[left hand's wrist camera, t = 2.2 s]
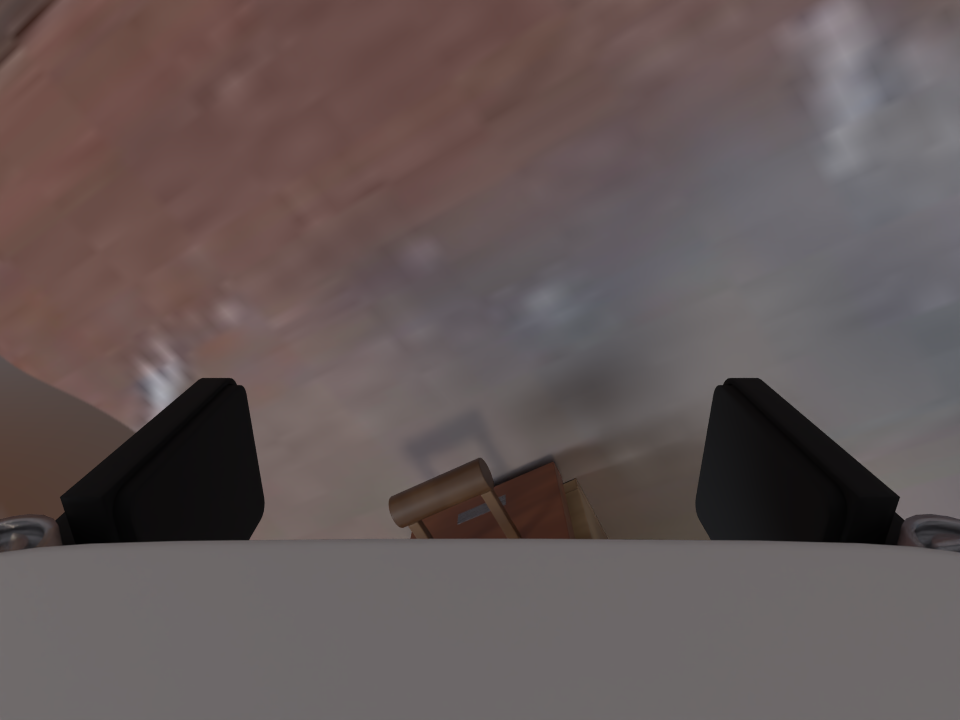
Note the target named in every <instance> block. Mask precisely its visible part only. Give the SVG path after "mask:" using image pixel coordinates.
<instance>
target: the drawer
mask: <svg viewBox="0 0 960 720" xmlns="http://www.w3.org/2000/svg"><path fill="white" fill-rule="evenodd" d="M389 510H390V513H391V516H392V518H393V520H394V522H395V523H396V524H397V525H398V526H399V527H401V528H404V527H406V526H408V525H409V528H410V529H411V531H412V534H411V539H575V535H574V531H573V526H572V522H571V517H570V513H569V509H568V504H567V500H566V495H565V491H564V486H563V482H562V478H561V474H560V473H559V471H558V469H557V467H556V465H555V463H554V462H551V463H548V464H546V465H544V466H542V467H539V468H537V469H535V470H532V471H530V472H528V473H525V474H523V475H521V476H518V477H516V478H514V479H511V480H509V481H507V482H504V483H502V484H500V485H497V486H495V487H494V482H493V478H492V475H491V472H490V470H489V468H488V466H487V464H486V463H485V461H484V460H483V459H482V458H478V459H475V460H473V461H471V462H468V463H466V464H464V465H462V466H459V467H457V468H455V469H453V470H450V471H448V472H446V473H444V474H441V475H439V476H437V477H435V478H432V479H430V480H428V481H426V482H423V483H421V484H419V485H416V486H414V487H412V488H410V489H407V490H405V491H403V492H401V493H398V494H396V495H394V496H392V497H391V498H390V499H389Z"/></svg>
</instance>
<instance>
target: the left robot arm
mask: <svg viewBox="0 0 960 720" xmlns="http://www.w3.org/2000/svg"><path fill="white" fill-rule="evenodd" d="M60 498H61V501H62V504H63V507H64V511H65V512H64V513H63V514H62V515H61V516H60V517H59V518H58V519H57V520H54V519H53V518H51V517H48V516H45V515H37V514H27V515H19V516H12V517H8V518H4V519H0V720H960V519H956V518H952V517H948V516H941V515H933V514H923V515H915V516H912V517H909V518H907V519H906V520H903V519H902V518H901V517H900V516H899V515H898V514H897V513H896V512H895V511H896V507H897V504H898V501H899V498H900V497H899V496H898V495H897V494H896V493H894V492H893V491H892V490H891V489H890V488H889V487H887V486H886V485H885V484H884V483H883V482H881V481H880V480H879V479H878V478H877V477H876V476H874V475H873V474H872V473H871V472H870V471H868V470H867V469H866V468H865V467H864V466H863V465H861V464H860V463H859V462H858V461H857V460H855V459H854V458H853V457H852V456H851V455H850V454H848V453H847V452H846V451H845V450H844V449H842V448H841V447H840V446H839V445H838V444H837V443H835V442H834V441H833V440H832V439H831V438H829V437H828V436H827V435H826V434H825V433H824V432H822V431H821V430H820V429H819V428H818V427H816V426H815V425H814V424H813V423H812V422H811V421H809V420H808V419H807V418H806V417H805V416H803V415H802V414H801V413H800V412H799V411H798V410H796V409H795V408H794V407H793V406H792V405H790V404H789V403H788V402H787V401H786V400H785V399H783V398H782V397H781V396H780V395H779V394H777V393H776V392H775V391H774V390H773V389H771V388H770V387H769V386H768V385H767V384H766V383H764V382H763V381H762V380H761V379H759V378H728V379H727V380H726V381H725V382H724V384H723V385H718V386H717V387H716V389H715V391H714V394H713V400H712V406H711V412H710V418H709V424H708V430H707V436H706V441H705V447H704V453H703V459H702V465H701V471H700V477H699V483H698V489H697V494H696V512H697V516H698V518H699V520H700V522H701V523H702V525H703V527H704V529H705V530H706V532H707V534H708V535H709V537H710V539H711V540H626V539H322V540H249V539H250V537H251V535H252V534H253V532H254V530H255V529H256V527H257V525H258V523H259V522H260V520H261V518H262V516H263V512H264V494H263V489H262V483H261V477H260V471H259V465H258V459H257V453H256V447H255V441H254V436H253V430H252V424H251V418H250V412H249V406H248V400H247V394H246V391H245V389H244V387H243V386H242V385H237V384H236V382H235V381H234V380H233V379H232V378H201V379H199V380H198V381H197V382H196V383H194V384H193V385H192V386H191V387H190V388H189V389H187V390H186V391H185V392H184V393H183V394H181V395H180V396H179V397H178V398H177V399H175V400H174V401H173V402H172V403H171V404H170V405H168V406H167V407H166V408H165V409H164V410H162V411H161V412H160V413H159V414H158V415H157V416H155V417H154V418H153V419H152V420H151V421H149V422H148V423H147V424H146V425H145V426H144V427H142V428H141V429H140V430H139V431H138V432H136V433H135V434H134V435H133V436H132V437H131V438H129V439H128V440H127V441H126V442H125V443H123V444H122V445H121V446H120V447H119V448H118V449H116V450H115V451H114V452H113V453H112V454H110V455H109V456H108V457H107V458H106V459H105V460H103V461H102V462H101V463H100V464H99V465H97V466H96V467H95V468H94V469H93V470H92V471H90V472H89V473H88V474H87V475H86V476H85V477H83V478H82V479H81V480H80V481H79V482H77V483H76V484H75V485H74V486H73V487H71V488H70V489H69V490H68V491H67V492H66V493H64V494H63V495H62V496H61V497H60Z"/></svg>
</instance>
